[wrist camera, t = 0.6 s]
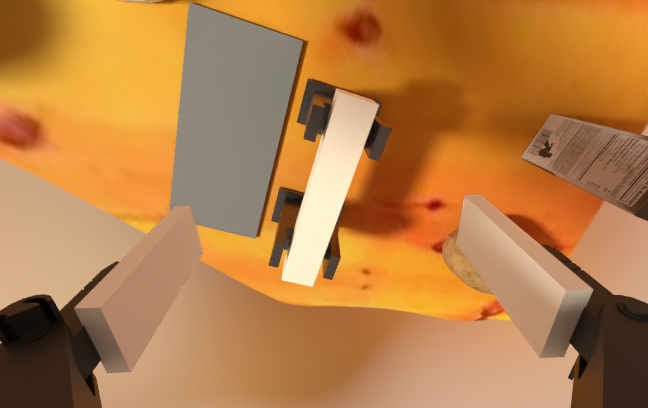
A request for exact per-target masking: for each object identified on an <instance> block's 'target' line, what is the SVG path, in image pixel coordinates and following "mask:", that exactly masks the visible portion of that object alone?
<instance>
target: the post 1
mask: <svg viewBox="0 0 648 408" xmlns="http://www.w3.org/2000/svg"><path fill="white" fill-rule="evenodd" d="M303 198H304V193H300V192H296V191H292V190H289V189H285V188H281V187H280V189H279V193H278V196H277V200H276V204H275V208H274V212H273V216H272V220H271V221H273V222H278V227H277V231H276V236H275V240H274V244H273V249H272V253H271V257H270V262H269V266H273V267H277V268H278V266H279V262H280V259H281V255H282V252H283V249H284V250H288V247H289V244H290V241H291V237H292V234H293V231H294V227H295V224H296V221H297V217H298V214H299V211H300V208H301V204H302V201H303ZM343 208H344V204H343V205H342V208H341V211H340V213H339V216H338V219H337V222H336V224H335V227H334V230H333V233H332V235H331V238H330V241H329V244H328V246H327V249H326V252H325V254H324V257H323V278H326V279H330V280H332V279H333V276H334V273H335V271H336V268H337V266H338V263H339V261H340V258H341V257H340V249H339V240H338V232H337V224H338V222H339V219H340V216H341V213H342V211H343Z"/></svg>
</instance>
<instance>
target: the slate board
mask: <svg viewBox="0 0 648 408" xmlns="http://www.w3.org/2000/svg"><path fill="white" fill-rule="evenodd" d="M302 45H303V41H302V40H299V39H296V38H293V37H290V36H287V35H284V34H281V33H278V32H275V31H273V30H270V29H267V28H264V27H261V26H258V25H255V24H252V23H249V22H246V21H243V20H240V19H237V18H234V17H232V16H229V15H226V14H223V13H220V12H217V11H214V10H211V9H208V8H205V7H202V6H199V5H196V4H193V3H191V2H189V11H188V22H187V32H186V43H185V53H184V64H183V74H182V85H181V96H180V106H179V117H178V127H177V138H176V148H175V159H174V169H173V180H172V190H171V201H170V211H171V210H172V209H173V208H174V207H175V206H191V208H192V212H193V216H194V220H195V224H196V225H200V226H205V227H209V228H213V229H217V230H221V231H226V232H230V233H234V234H238V235H242V236H247V237H251V238H255V239H256V235H257V231H258V227H259V223H260V219H261V215H262V211H263V207H264V202H265V198H266V194H267V190H268V186H269V182H270V178H271V173H272V169H273V165H274V161H275V157H276V153H277V149H278V145H279V140H280V136H281V132H282V128H283V124H284V120H285V116H286V111H287V107H288V103H289V99H290V95H291V91H292V87H293V83H294V78H295V74H296V70H297V66H298V62H299V58H300V54H301V49H302ZM170 211H169V212H170Z"/></svg>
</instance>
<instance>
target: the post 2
mask: <svg viewBox="0 0 648 408" xmlns="http://www.w3.org/2000/svg"><path fill="white" fill-rule="evenodd" d="M335 91H336V88H335V87H332V86H329V85H326V84H323V83H320V82H317V81H314V80H311V79H308V81H307V85H306V89H305V93H304V96H303V100H302V104H301V108H300V112H299V116H298V119H297V123H301V124H304V125H306V126H305V133H304V139H306V140H309V141H313V142H315V139H316V136H317V134H320V135H322V134H323V131H324V128H325V124H326V121H327V118H328V114H329V111H330V108H331V104H332V101H333V98H334V94H335ZM344 91H345V90H344ZM347 92H348V91H347ZM350 93H351V92H350ZM353 94H354V93H353ZM356 95H357V94H356ZM359 96H360V95H359ZM373 101H375V100H373ZM375 102H376V103H377V104H379V107H378V109H377V112H376V115H375V118H374V120H373V123H372V126H371V129H370V131H369V134H368V137H367V139H366V142H365V145H364V150H365V152H366V154H367V156H368V158H371V159H374V160H378V161H379V160H380V157H381V155H382V152H383V149H384V147H385V144H386V142H387V139H388V137H389V134H390V132H391V129H392V128H391V127H390V126H389V125H387V124H386V123H385V122H384V121H383V120H382V119H381V118H380V117H379V116H378V113H379V110H380V108H381V105H382V103H381V102H379V101H375Z"/></svg>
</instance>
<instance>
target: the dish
mask: <svg viewBox="0 0 648 408" xmlns="http://www.w3.org/2000/svg"><path fill="white" fill-rule="evenodd" d="M119 1H122V2H136V3H155V2H159V1H162V0H119Z"/></svg>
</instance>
